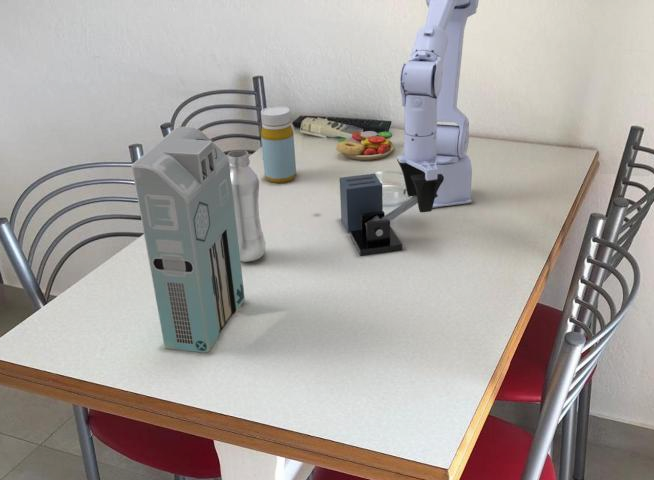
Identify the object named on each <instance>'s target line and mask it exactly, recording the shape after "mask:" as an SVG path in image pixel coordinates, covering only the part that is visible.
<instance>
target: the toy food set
mask: <svg viewBox="0 0 654 480" xmlns="http://www.w3.org/2000/svg"><path fill="white" fill-rule="evenodd" d="M392 137H393V133H392V132H391V131H380V132H376V131H373V130H366V131H362V132H360V131H356V132H353V133H352V134H351V136H348V137H346V138H345V137H344V138H343V137H341V138H339V139H338V143H337V144H336V149H335V150H336V151H338V152H339V153H342V154H343V155H344V156H345V157H347V158H349V159H351V160H358V161H374V160H379V159H383V158H385V157H387V156H388V155H390V154H391V153H392V152H393V150H394V149H395V145H394V143H393V142H392V141H391V140H390V139H391V138H392Z"/></svg>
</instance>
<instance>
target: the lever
mask: <svg viewBox="0 0 654 480" xmlns="http://www.w3.org/2000/svg"><path fill="white" fill-rule="evenodd" d="M436 197H438V195H437V193H436V196H435V198H436ZM416 205H418V200H417V195H416V196H412V197H411V198H410V199H408V200H407V201H405V202H404V203H401V205H399V206H397V207H396V208H394V209H393V210H392V211H390V212H389V213H387V214H385V216H384V217H382V218H381V219H379V217H378V215H377V216H375V217H374V218H372V219H371V220H369V221H367V222H372V221H379V220H387V219H389V220H390V222H391V221H393V220H394V219H396V218H397V217H399V216H400V215H402V214H403V213H405V212H406V211H408V210H409V209H411V208H413V207H415V206H416ZM365 225H366V223H365Z"/></svg>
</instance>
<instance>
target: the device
mask: <svg viewBox="0 0 654 480" xmlns="http://www.w3.org/2000/svg"><path fill="white" fill-rule="evenodd" d="M131 170H132V175H133V176H132V177H133V183H134V186H135V187H134V188H135V193H136V198H137V202H138V209H139V214H140V219H141V225H142V230H143V237H144V241H145V247H146V253H147V258H148V262H149V263H148V264H149V269H150V274H151V275H150V276H151V280H152V285H153V292H154V297H155V303H156V307H157V313H158V318H159V324H160V330H161V335H162V341H163V347H164V349H168V350H177V351H186V352H194V353H202V354H207V353H209V352H210V351H211V350H212V348H213V347H214V345H215V344H216V342H217V341H218V339H219V338H220V334H221V332H222V331H223V330H224V328H225V327H226V325H227V324H228V323H229V321H230V319H231V317H233V315H235V314H236V313H237V311H238V310H239V309H240V307H241V306H242V304H243V303H244V302H245V299H246V298H245V297H246V296H245V289H244V281H243V279H244V278H243V271H242V261H240V253H239V244H238V235H237V226H236V218H235V209H234V200H233V192H232V183H231V174H230V165H229V160H228V155H227V154H226V153H225V152H224V151H223V150H222V149H221V148H220V147H219V146H218V145H216V143H214V142H213V140H212V139H211V138H209V137H208V136H207V135H206V134H205V133H204V132H203V131H201V130H200V129H198V128H195V127H193V126H179V125H178V126H176V127H175V128H174V129H172V130H171V131H170V132H168V133H167V135H165V136H164V137H163V138H162V139H160V140H159V141H158V142H157V143H156V144H154V145H153V146H152V147H151V148H149V150H148V151H146V152H145V153H144V154H142V156H140V157H139V158H137V160H135V161H134V162H133V163H132V164H131Z"/></svg>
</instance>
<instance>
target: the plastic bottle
mask: <svg viewBox="0 0 654 480" xmlns="http://www.w3.org/2000/svg"><path fill="white" fill-rule="evenodd" d="M227 157H228V160H229V165H230V174H231V183H232V192H233V200H234V209H235V218H236V226H237V235H238V244H239V253H240V261H241V262H245V263H247V262H254V261H257V260H260V259H262V257H263V256H264V254H265V252H266V239H265V235H264V232H263V228H262V223H261V218H260V211H259V210H260V205H259V198H260V197H259V196H260V195H259V194H260V180H259V177H258V175H257V174H256V173H255V171H254V170H253V169H252V168H251V166H250V163H251V160H250V155H249V152H248V151H247V150H244V149H235V150H231V151H229V152H228V153H227Z"/></svg>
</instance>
